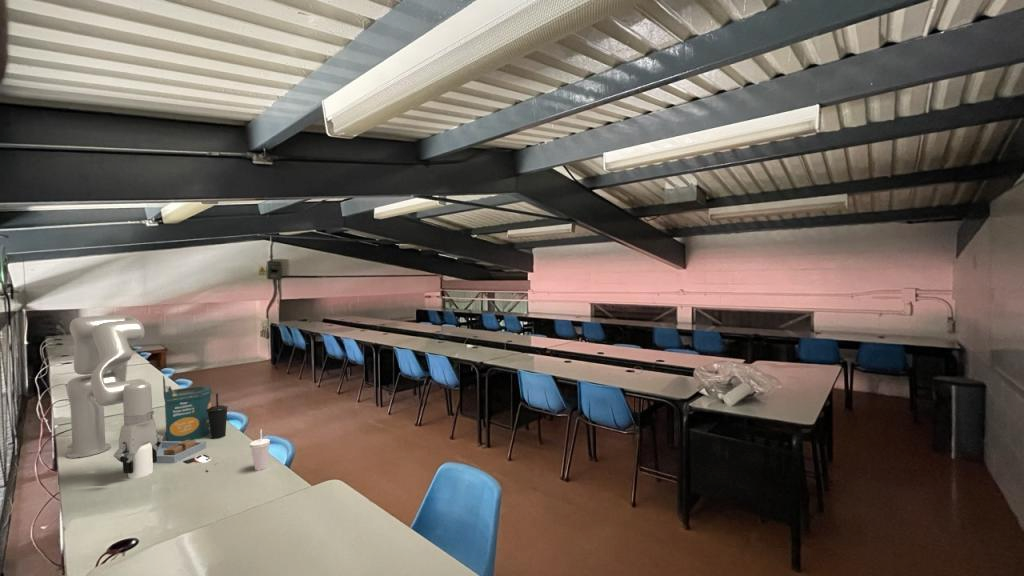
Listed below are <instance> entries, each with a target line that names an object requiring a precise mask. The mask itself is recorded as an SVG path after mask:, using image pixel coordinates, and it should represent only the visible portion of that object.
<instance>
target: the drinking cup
mask: <svg viewBox="0 0 1024 576" xmlns="http://www.w3.org/2000/svg"><path fill="white" fill-rule="evenodd" d="M215 400H216V401H215V405H211V407H210V408H209V409H207V412H208V418H209V424H210V431H211V434H210V436H211V439H212V440H217V439H222V438H224V437H226V431H227V421H228V420H227V419H228V418H227V416H228V408H229V406H228V405H225V404H219V393H215Z"/></svg>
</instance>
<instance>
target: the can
mask: <svg viewBox="0 0 1024 576" xmlns="http://www.w3.org/2000/svg"><path fill="white" fill-rule="evenodd" d="M128 456H129V455H128ZM131 461H133V473H131V474H130V473H127V474H128V479H140V478H143V477H146V476H149V475H151V474H153V472H154V466H153V465H154V463H153V458H152V445H151V444H150V442H148V443H146V444H143V445H141V447H140V448H139V450H138V452H137V453H135V454H134V455H133V457H132V460H131Z"/></svg>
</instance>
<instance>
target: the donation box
mask: <svg viewBox="0 0 1024 576" xmlns="http://www.w3.org/2000/svg"><path fill="white" fill-rule="evenodd" d="M162 385H163V387H162V388H163V399H164V411H165V415H164V416H165V432H164V434H165V435H164V436H165V441H182V442H183V441H186V440H199V439H203V438H205V437H207V436H209V435H211V431H210V424H209V418H208V412H207V409H209V408H210V407H212V403H211V402H212V399H211V398H212V397H211V395H212V388H211V387H210V386H209V385H196V386H191V387H190V386H188V387H183V388H177V389H172V386H171V385H169V386H168V385H166V380H165V375H162Z"/></svg>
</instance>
